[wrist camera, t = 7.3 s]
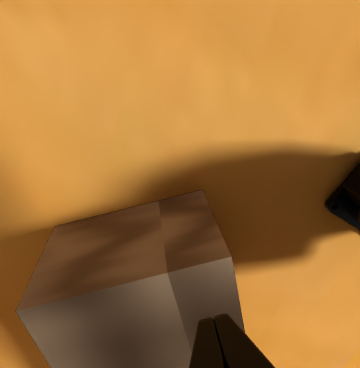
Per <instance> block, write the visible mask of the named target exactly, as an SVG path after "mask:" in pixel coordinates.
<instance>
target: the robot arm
mask: <svg viewBox="0 0 360 368" xmlns="http://www.w3.org/2000/svg"><path fill="white" fill-rule="evenodd" d="M334 203H335V205H334V206H332V205H333V204H334ZM325 207H326V208H327V209H328V210H329V211H330V212H331V213H333V214H335V215H336V216H338V217H339V218H341V219H343V220H344V221H346V222H348V223H349V224H351V225H352V226H354V227H356V228H357V229H359V230H360V164H359V165H358V166H357V167H356V168H355V169H354V171H353V172H352V173H351V174H350V175H349V176H348V177H347V179H346V180H345V181H344V182H343V183H342V184H341V185H340V187H339V188H338V189H337V190H336V191H335V192H334V193H333V195H332V196H331V197H330V198H329V199H328V200H327V202H326V204H325ZM213 319H214V320H213ZM214 323H215V324H214ZM189 368H275V367H274V366H273V365H272V364H271V362H270V361H269V360H268V359H267V358H266V357H265V356H264V354H263V353H262V352H261V351H260V350H259V349H258V348H257V346H256V345H255V344H254V343H253V342H252V341H251V340H250V338H249V337H248V336H247V335H246V334H245V333H244V331H243V330H242V329H241V328H240V327H239V326H238V325H237V323H236V322H235V321H234V320H233V319H232V318H231V317H230V315H229V314H227V313H224V314H220V315H216V316H214V318H212V317H208V318H205V319H201V320H199V321H198V324H197V329H196V334H195V339H194V344H193V349H192V354H191V359H190V365H189Z"/></svg>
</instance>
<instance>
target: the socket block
mask: <svg viewBox="0 0 360 368" xmlns="http://www.w3.org/2000/svg"><path fill="white" fill-rule="evenodd" d="M15 312H16V313H17V315H18V316H19V318H20V320H21V321H22V323H23V324H24V326H25V328H26V329H27V331H28V332H29V334H30V335H31V337H32V339H33V340H34V342H35V343H36V345H37V347H38V348H39V350H40V351H41V353H42V354H43V356H44V358H45V359H46V361H47V362H48V364H49V366H50V367H51V368H189V365H190V359H191V354H192V349H193V344H194V339H195V334H196V329H197V324H198V321H199V320H201V319H205V318H208V317H212V318H214V316H216V315H220V314H224V313H227V314H229V315H230V317H231V318H232V319H233V320H234V321H235V322H236V323H237V325H238V326H239V327H240V328H241V329H242V330H243V331H244V333H245V330H244V324H243V319H242V313H241V307H240V301H239V296H238V290H237V284H236V279H235V273H234V267H233V261H232V256H231V254H230V252H229V249H228V247H227V245H226V242H225V240H224V238H223V236H222V233H221V231H220V229H219V226H218V224H217V222H216V219H215V217H214V215H213V213H212V210H211V208H210V206H209V203H208V201H207V199H206V196H205V194H204V192H203V190H200V191H196V192H192V193H188V194H184V195H180V196H176V197H172V198H168V199H164V200H160V201H156V202H152V203H148V204H144V205H140V206H136V207H132V208H127V209H123V210H119V211H115V212H111V213H107V214H103V215H99V216H95V217H91V218H87V219H83V220H79V221H75V222H71V223H67V224H63V225H59V226H55V227H54V228H53V230H52V233H51V235H50V237H49V239H48V241H47V244H46V246H45V248H44V250H43V252H42V254H41V257H40V259H39V261H38V263H37V265H36V267H35V270H34V272H33V274H32V276H31V278H30V281H29V283H28V285H27V287H26V289H25V291H24V294H23V296H22V298H21V300H20V302H19V305H18V307H17V309H16V311H15ZM213 320H214V319H213ZM214 324H215V323H214Z"/></svg>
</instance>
